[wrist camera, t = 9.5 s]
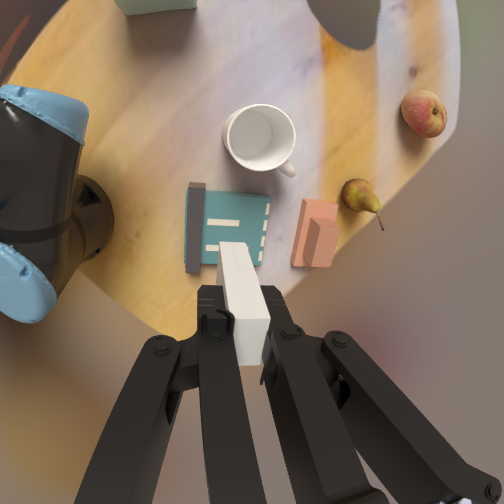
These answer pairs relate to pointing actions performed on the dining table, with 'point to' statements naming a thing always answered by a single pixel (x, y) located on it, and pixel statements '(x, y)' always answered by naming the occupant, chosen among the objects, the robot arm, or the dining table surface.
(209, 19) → the dining table surface
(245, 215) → the striped teal tile
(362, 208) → the fruit
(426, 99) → the apple
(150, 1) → the pale teal hollow box
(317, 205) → the stub
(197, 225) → the grey end rail
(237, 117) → the mug
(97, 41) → the dining table surface
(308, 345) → the robot arm
